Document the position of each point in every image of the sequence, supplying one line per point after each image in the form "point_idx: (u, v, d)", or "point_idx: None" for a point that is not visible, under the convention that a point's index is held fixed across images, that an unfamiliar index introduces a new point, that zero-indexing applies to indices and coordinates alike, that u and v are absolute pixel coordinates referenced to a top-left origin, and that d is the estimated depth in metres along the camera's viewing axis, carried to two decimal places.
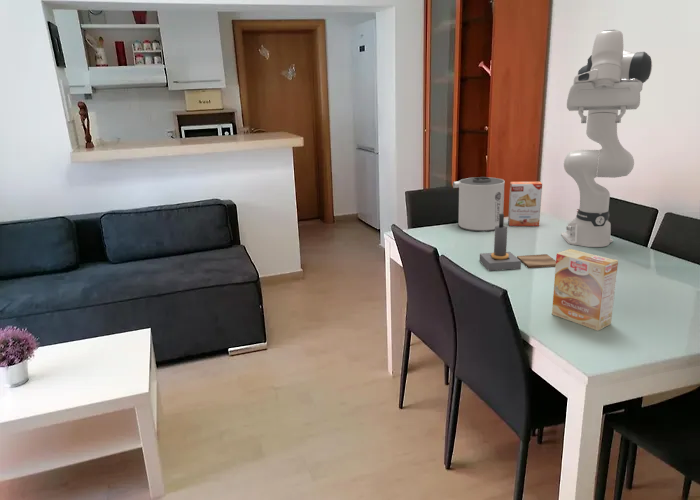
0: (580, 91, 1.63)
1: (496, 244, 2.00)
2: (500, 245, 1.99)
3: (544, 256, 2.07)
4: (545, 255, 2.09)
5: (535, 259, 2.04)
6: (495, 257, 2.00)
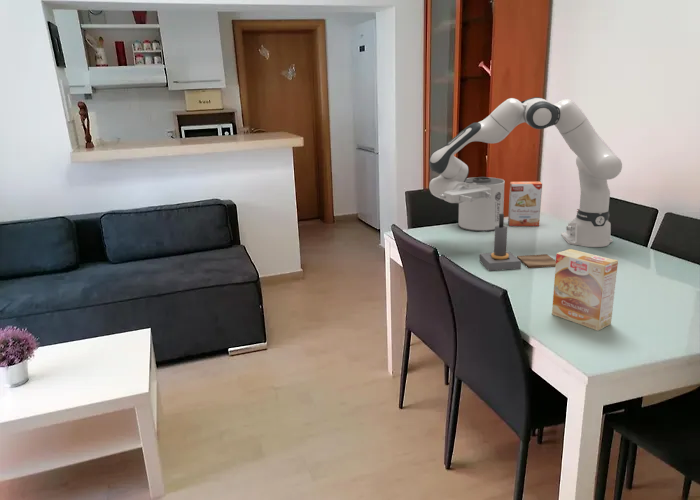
0: None
1: (496, 244, 2.00)
2: (500, 245, 1.99)
3: (544, 256, 2.07)
4: (545, 255, 2.09)
5: (535, 259, 2.04)
6: (495, 257, 2.00)
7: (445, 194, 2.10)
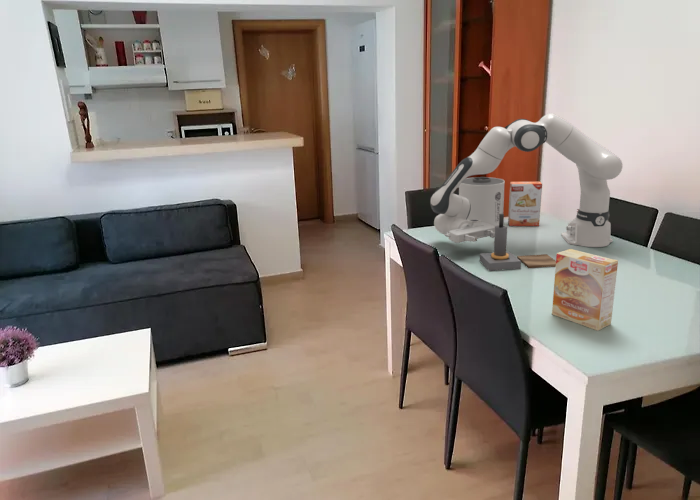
0: None
1: (496, 244, 2.00)
2: (500, 245, 1.99)
3: (544, 256, 2.07)
4: (545, 255, 2.09)
5: (535, 259, 2.04)
6: (495, 257, 2.00)
7: (450, 233, 2.12)
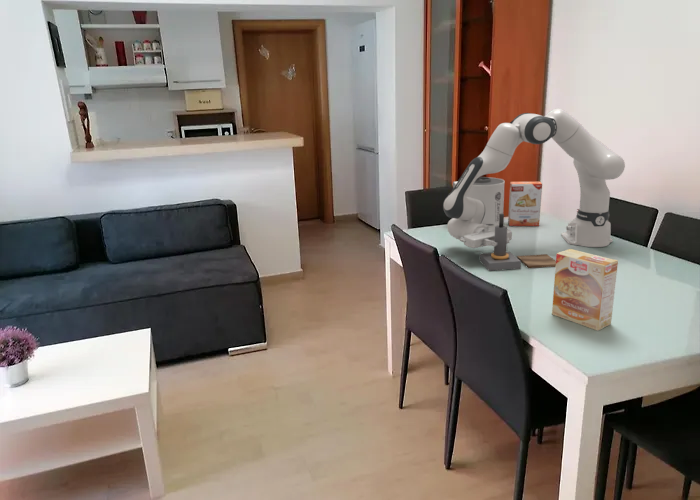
0: None
1: None
2: (500, 245, 1.99)
3: (544, 256, 2.07)
4: (545, 255, 2.09)
5: (535, 259, 2.04)
6: (495, 257, 2.00)
7: (465, 238, 2.04)
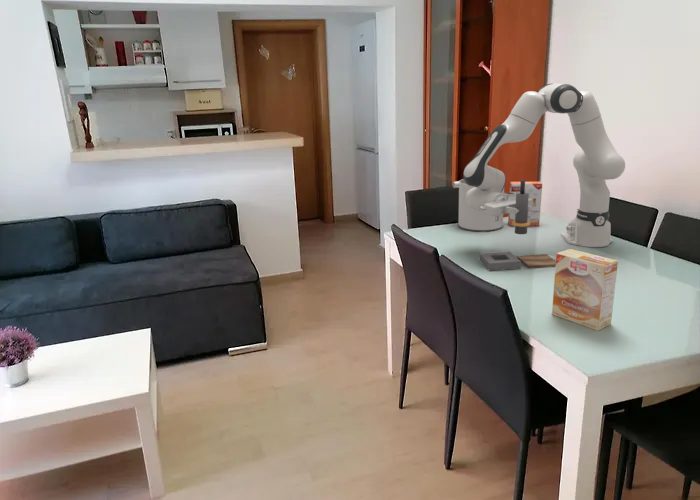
0: None
1: None
2: (522, 212, 1.96)
3: (544, 256, 2.07)
4: (545, 255, 2.09)
5: (535, 259, 2.04)
6: (516, 224, 1.97)
7: (485, 206, 2.01)
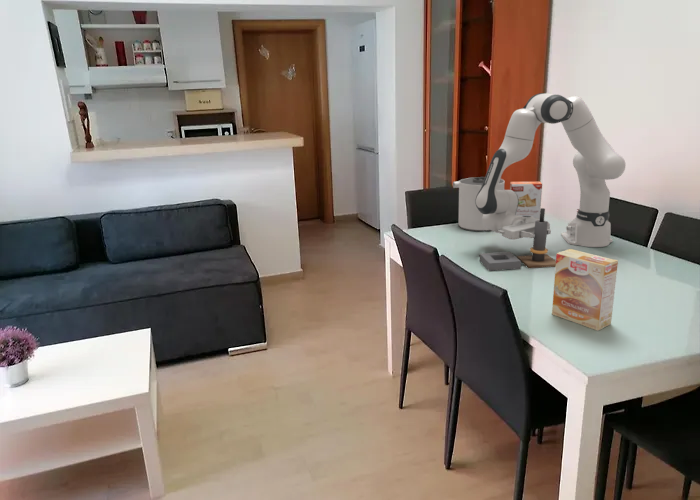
0: None
1: (536, 238, 2.00)
2: (540, 240, 1.99)
3: None
4: (545, 255, 2.09)
5: None
6: (534, 251, 2.01)
7: (504, 230, 2.04)
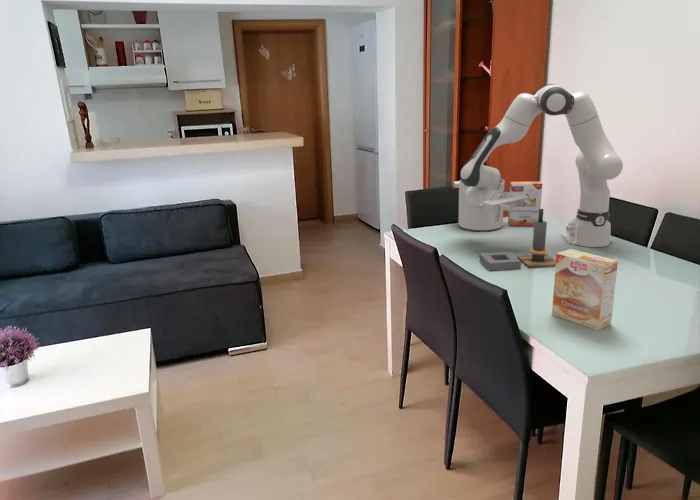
0: None
1: (535, 239, 2.00)
2: (539, 240, 1.99)
3: (544, 256, 2.07)
4: (545, 255, 2.09)
5: None
6: (534, 252, 2.01)
7: (483, 204, 2.12)
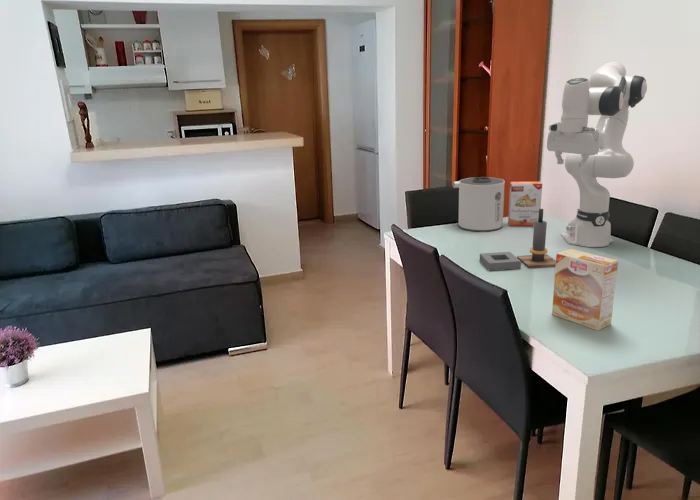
0: (555, 138, 1.94)
1: (535, 239, 2.00)
2: (539, 240, 1.99)
3: (544, 256, 2.07)
4: (545, 255, 2.09)
5: None
6: (534, 252, 2.01)
7: (597, 139, 1.81)
